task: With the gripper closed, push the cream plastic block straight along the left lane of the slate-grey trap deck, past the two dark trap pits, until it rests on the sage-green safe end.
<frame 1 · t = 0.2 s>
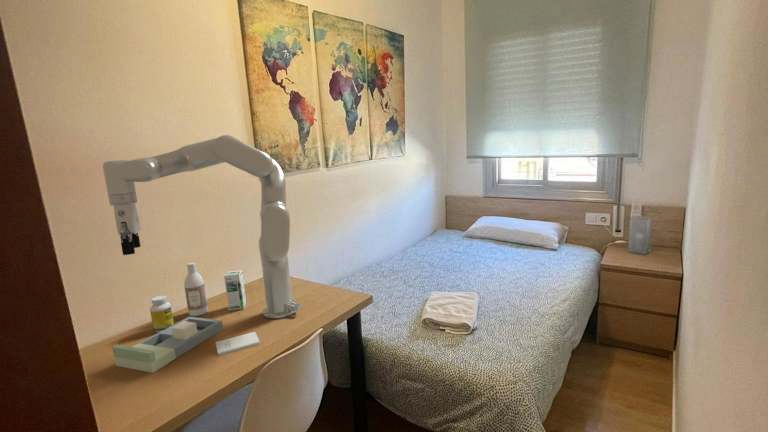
hand: (132, 250, 130), 31 cm above the table, tool pointing down, fingers open, 9 cm apart
syrup box: (237, 307, 157), on the table
pill bottle: (164, 329, 142), on the table
external hard drive: (237, 346, 127), on the table
block: (185, 335, 129), point 3 cm above the table, touching trap deck
bath foam: (198, 313, 154), on the table
trap deck: (173, 345, 129), on the table
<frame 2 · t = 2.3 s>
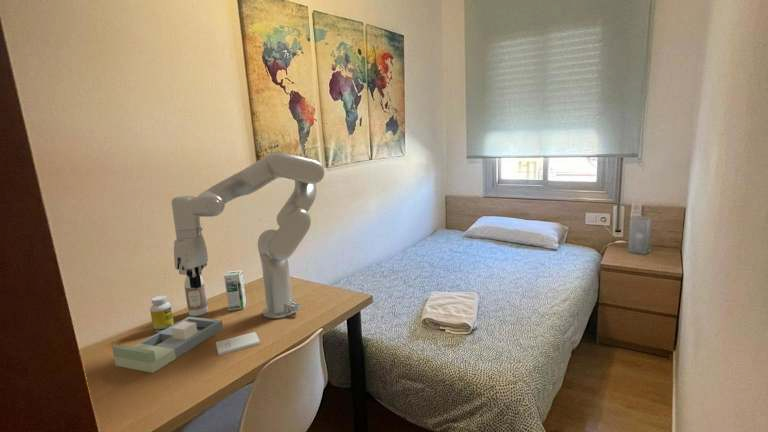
hand: (195, 287, 133), 17 cm above the table, tool pointing down, fingers closed
nothing on the table moved.
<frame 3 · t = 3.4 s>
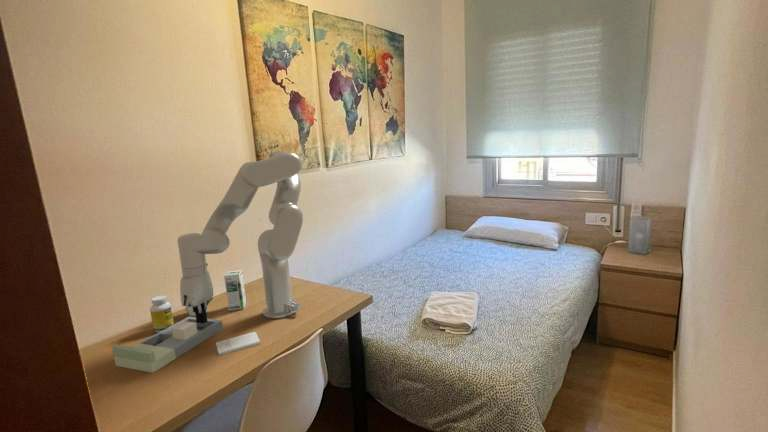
hand: (202, 322, 135), 4 cm above the table, tool pointing down, fingers closed
nothing on the table moved.
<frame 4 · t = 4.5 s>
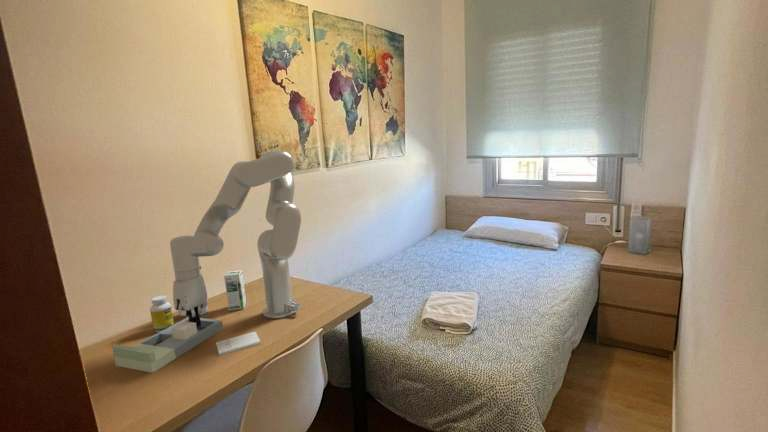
hand: (195, 326, 133), 4 cm above the table, tool pointing down, fingers closed
block: (185, 335, 129), point 3 cm above the table, touching gripper, trap deck
everything else where it was.
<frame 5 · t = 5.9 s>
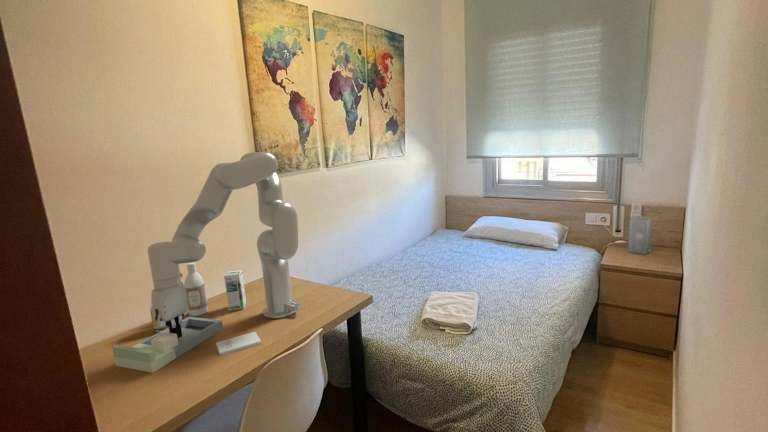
hand: (176, 337, 126), 4 cm above the table, tool pointing down, fingers closed
block: (165, 347, 122), point 3 cm above the table, touching gripper
everything else where it was.
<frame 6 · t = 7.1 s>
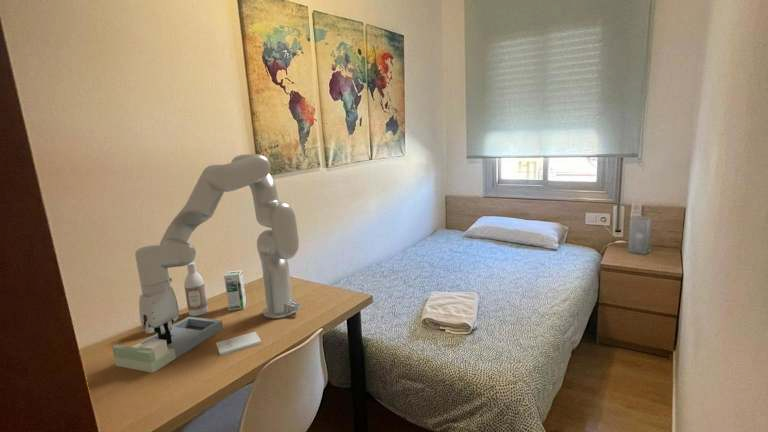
hand: (166, 343, 122), 4 cm above the table, tool pointing down, fingers closed
block: (154, 354, 118), point 3 cm above the table, touching gripper, trap deck
everything else where it was.
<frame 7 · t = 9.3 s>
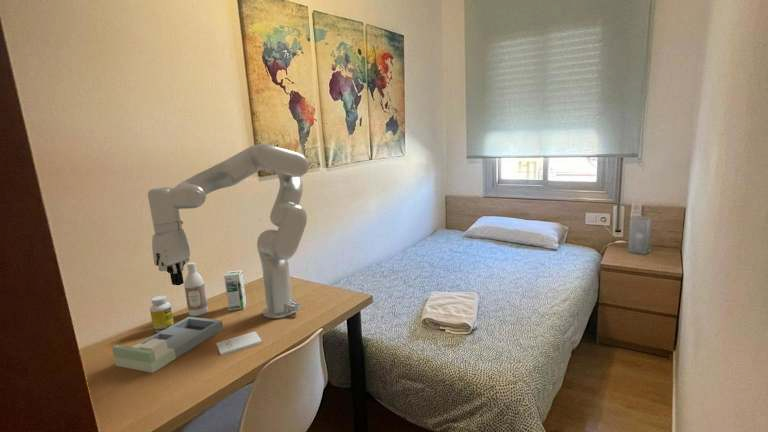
hand: (178, 284, 126), 20 cm above the table, tool pointing down, fingers closed
block: (154, 354, 118), point 3 cm above the table, touching trap deck
everything else where it was.
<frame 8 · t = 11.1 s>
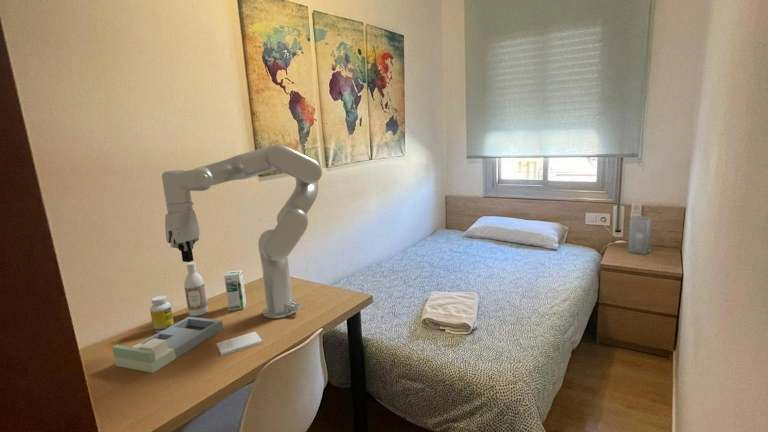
hand: (188, 261, 135), 25 cm above the table, tool pointing down, fingers closed
nothing on the table moved.
at the end: block inside the target area (0.7 cm from its centre), point 3.0 cm above the table; block tilted 0° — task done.
